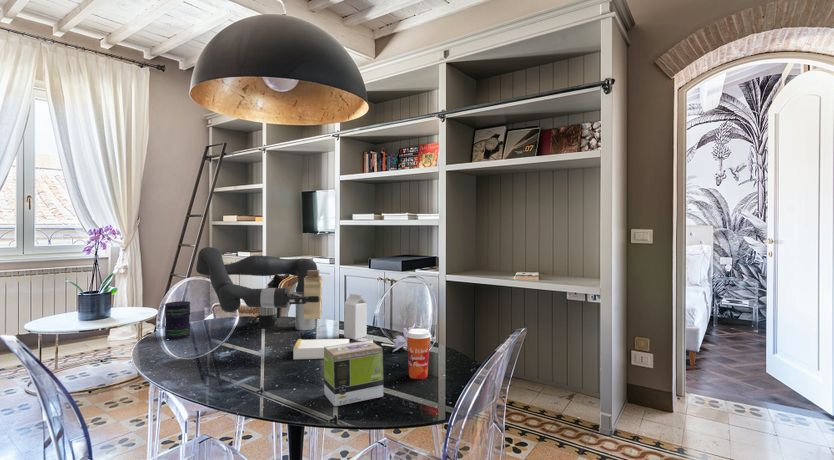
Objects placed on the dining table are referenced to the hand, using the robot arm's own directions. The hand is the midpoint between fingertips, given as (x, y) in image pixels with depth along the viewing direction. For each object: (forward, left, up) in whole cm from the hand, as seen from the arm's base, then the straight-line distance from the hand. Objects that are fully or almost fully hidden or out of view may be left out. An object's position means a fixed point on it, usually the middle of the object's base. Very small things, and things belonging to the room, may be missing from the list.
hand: (319, 297), depth 170 cm
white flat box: (0, +1, -22) cm, 22 cm away
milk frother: (-50, -32, -22) cm, 64 cm away
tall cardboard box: (0, -3, -7) cm, 8 cm away
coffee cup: (+28, +35, -22) cm, 50 cm away
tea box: (+43, +14, -22) cm, 50 cm away
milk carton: (-24, +13, -22) cm, 35 cm away
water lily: (-4, +33, -22) cm, 40 cm away
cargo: (0, -2, +7) cm, 7 cm away
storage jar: (-30, -64, -22) cm, 74 cm away
